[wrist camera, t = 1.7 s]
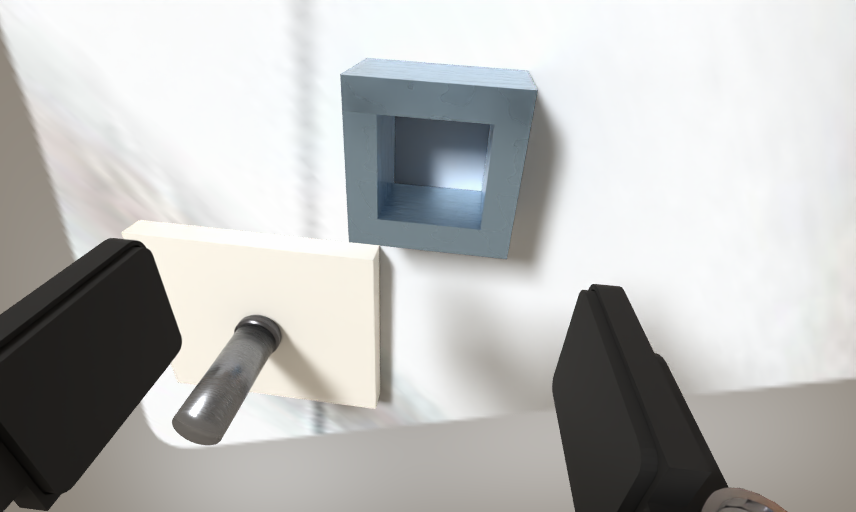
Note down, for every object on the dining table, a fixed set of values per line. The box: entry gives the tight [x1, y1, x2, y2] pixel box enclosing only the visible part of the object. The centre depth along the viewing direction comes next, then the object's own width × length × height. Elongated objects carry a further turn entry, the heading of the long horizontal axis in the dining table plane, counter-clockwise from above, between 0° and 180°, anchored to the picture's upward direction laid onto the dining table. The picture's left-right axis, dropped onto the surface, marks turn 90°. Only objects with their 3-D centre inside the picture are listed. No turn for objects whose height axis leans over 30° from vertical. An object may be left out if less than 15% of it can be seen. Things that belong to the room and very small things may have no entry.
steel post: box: [172, 315, 282, 445], centre depth 23 cm, size 3×3×7 cm
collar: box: [340, 58, 538, 259], centre depth 19 cm, size 7×7×4 cm
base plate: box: [121, 220, 380, 409], centre depth 27 cm, size 14×12×2 cm
